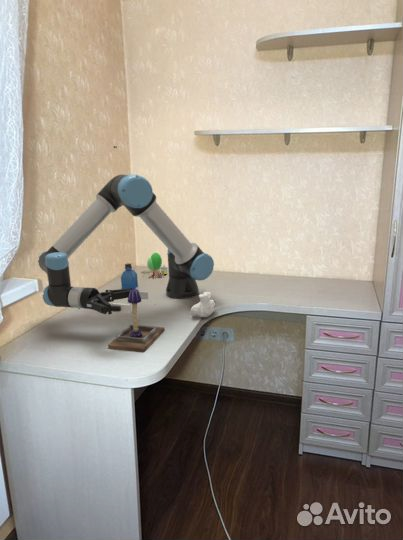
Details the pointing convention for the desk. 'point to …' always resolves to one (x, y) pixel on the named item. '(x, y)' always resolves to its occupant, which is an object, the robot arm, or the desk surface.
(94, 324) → the desk surface
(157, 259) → the green toy tree
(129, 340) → the plate
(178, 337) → the desk surface
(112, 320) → the desk surface
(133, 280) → the perfume bottle
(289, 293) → the desk surface
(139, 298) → the toy lamp
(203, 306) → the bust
